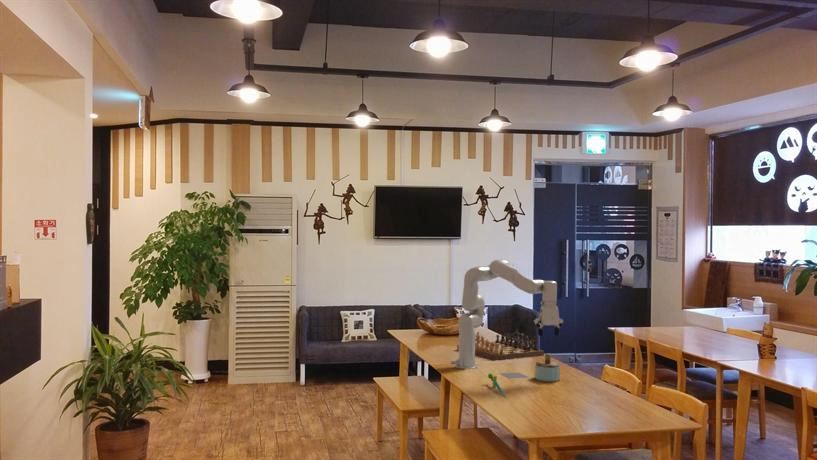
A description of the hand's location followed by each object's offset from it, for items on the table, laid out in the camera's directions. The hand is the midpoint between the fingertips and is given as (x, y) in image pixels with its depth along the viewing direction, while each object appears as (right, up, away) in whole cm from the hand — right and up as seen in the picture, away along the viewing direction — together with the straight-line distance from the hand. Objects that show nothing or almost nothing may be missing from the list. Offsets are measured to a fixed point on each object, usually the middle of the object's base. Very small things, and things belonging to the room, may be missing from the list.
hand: (548, 335), depth 367 cm
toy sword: (-31, -24, -26) cm, 47 cm away
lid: (0, -16, 0) cm, 16 cm away
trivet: (-18, -24, +7) cm, 30 cm away
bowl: (-1, -24, 0) cm, 24 cm away
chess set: (-16, -24, +79) cm, 84 cm away
